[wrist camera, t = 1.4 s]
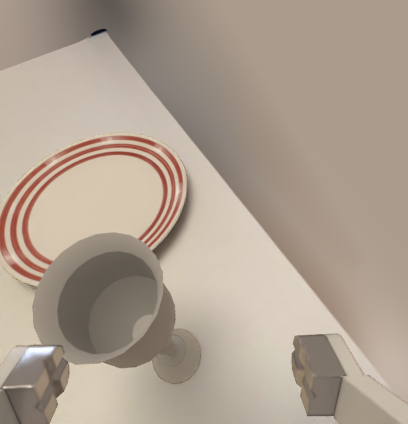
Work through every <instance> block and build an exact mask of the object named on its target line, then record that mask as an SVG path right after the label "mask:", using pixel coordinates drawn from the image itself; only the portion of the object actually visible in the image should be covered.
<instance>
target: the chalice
mask: <svg viewBox="0 0 408 424" xmlns="http://www.w3.org/2000/svg"><path fill="white" fill-rule="evenodd" d="M32 307H33V322H34V328H35V330H36V332H37V335H38V337H39V339H40V341H41V344H42V345H63V348H64V351H65V353H64V355H63V358H64V359H65V360H66V361H68V362H70V363H73V364H76V365H77V364H95V363H101V362H104V363H106V364H109V365H112V366H115V367H118V368H131V367H137V366H139V365H142V364H144V363H146V362H149V361H151V360H152V362H153V366H154V370H155V371H156V373H157V374H158V376H159V377H160V378H161V379H163V380H164V381H166V382H169V383H181V382H183V381H185V380H187V379H189V378H190V377H191V376H192V375H193V374H194V373H195V371H196V370H197V368H198V366H199V363H200V358H201V351H200V346H199V343H198V340H197V339H196V338H195V336H194V335H193V334H192V333H190V332H189V331H187V330H183V329H173V328H174V324H175V320H176V319H175V305H174V302H173V300H172V297H171V294H170V292H169V291H168V289H167V288H166V286H165V285H164V283H163V272H162V270H161V267H160V265H159V262H158V260H157V257H156V255H155V254H154V253H153V252H152V251H151V249H150V248H149V247H148V246H147V245H146V244H145V243H144V242H142V241H140V240H138V239H136V238H135V237H133V236H131V235H127V234H121V233H116V232H111V233H101V234H95V235H92V236H90V237H87V238H84V239H82V240H79V241H77V242H76V243H74V244H73V245H71V246H70V247H68V248H67V249H66V250H64V251H63V252H61V253H60V254H59V256H58V257H57V258H56V259H55V260H54V261H53V262H52V263H51V264H50V265H49V267H48V268H47V269H46V271H45V273H44V275H43V277H42V279H41V280H40V282H39V284H38V286H37V290H36V294H35V298H34V302H33V306H32Z"/></svg>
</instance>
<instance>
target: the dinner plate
mask: <svg viewBox="0 0 408 424" xmlns="http://www.w3.org/2000/svg"><path fill="white" fill-rule="evenodd" d="M186 195H187V176H186V171H185V168H184V165H183V163H182V161H181V159H180V158H179V157H178V155H177V154H176V153H175V152H174V151H173V150H172V149H171V148H170V147H169V146H167V145H166V144H164V143H163V142H161V141H159V140H157V139H155V138H152V137H149V136H145V135H141V134H134V133H110V134H103V135H98V136H93V137H89V138H86V139H83V140H80V141H77V142H74V143H72V144H70V145H67V146H65V147H63V148H61V149H59V150H57V151H55V152H54V153H52V154H50V155H49V156H47V157H45V158H44V159H43V160H41V161H40V162H38V163H37V164H36V165H35V166H33V167H32V168H31V169H29V170H28V171H27V172H26V173H25V174H24V175H23V176H22V177H21V178H20V179H19V180H18V181H17V182H16V183H15V184H14V186H13V187H12V188H11V189H10V191H9V192H8V194H7V195H6V197H5V198H4V200H3V202H2V203H1V205H0V264H1V265H2V267H3V268H4V269H5V270H6V271H7V272H8V273H9V274H10V275H12V276H13V277H14V278H16V279H17V280H19V281H21V282H24V283H26V284H29V285H32V286H36V287H37V286H38V284H39V282H40V280H41V279H42V277H43V275H44V273H45V271H46V269H47V268H48V267H49V265H50V264H51V263H52V262H53V261H54V260H55V259H56V258H57V257H58V256H59V254H60V253H61V252H63V251H64V250H66V249H67V248H68V247H70V246H71V245H73V244H74V243H76V242H77V241H79V240H82V239H84V238H87V237H90V236H92V235H95V234H101V233H111V232H116V233H121V234H127V235H131V236H133V237H135V238H136V239H138V240H140V241H142V242H144V243H145V244H146V245H147V246H148V247H149V248H150V249H151V251H152V250H154V249H155V248H156V247H157V246H158V245H159V244H160V243H161V242H162V241H163V240H164V239H165V237H166V236H167V235H168V234H169V232H170V231H171V229H172V228H173V226H174V225H175V223H176V222H177V220H178V218H179V216H180V214H181V211H182V209H183V206H184V203H185V200H186Z"/></svg>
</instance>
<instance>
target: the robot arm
mask: <svg viewBox="0 0 408 424" xmlns="http://www.w3.org/2000/svg"><path fill="white" fill-rule="evenodd" d="M293 345H294V347H295V351H294V352H293V353H292V360H291V361H292V370H293V374H294V378H295V381H296V383H297V384H298V385H299V386H300V387H301V394H300V396H301V399H302V402H303V405H304V408H305V411H306V414H307V416H334V418H335V419H336V420H337V421H338V422H339V424H408V403H406V402H405V401H404V400H402V399H401V398H399V397H398V396H397V395H395V394H394V393H393V392H391V391H390V390H389V389H387V388H386V387H384V386H383V385H382V384H380V383H379V382H378V381H376V380H375V379H373V378H372V377H371V376H369V375H364V374H363V372H362V370H361V368H360V367H359V365H358V363H357V362H356V360H355V358H354V357H353V355H352V353H351V352H350V350H349V348H348V347H347V345H346V343H345V341H344V340H343V338H342V336H341V335H339V334H324V335H323V334H318V335H298V336H295V337H294V341H293ZM64 353H65V351H64V348H63V345H17V346H16V347H14V348H13V349H12V350H11V351H10V352H9V354H8V355H7V357H6V358H5V359H4V361H3V362H2V363H1V365H0V424H49V423H50V421H51V419H52V417H53V414H54V412H55V410H56V408H57V406H58V403H57V399H56V398H57V397H58V396H59V395H60V394H62V393H63V392H64V390H65V388H66V385H67V383H68V378H69V364H68V361H66V360H65V359H64V358H63V355H64Z"/></svg>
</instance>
